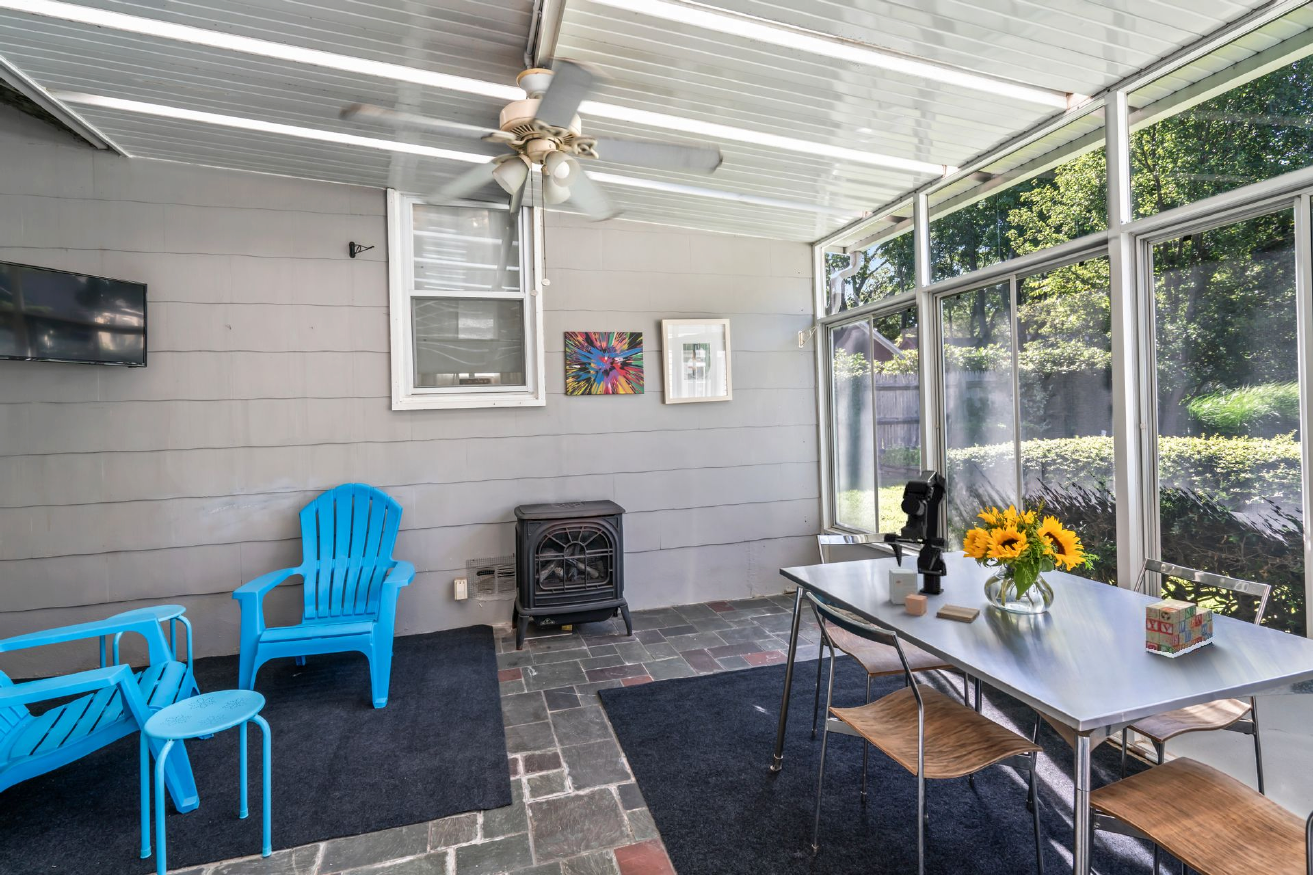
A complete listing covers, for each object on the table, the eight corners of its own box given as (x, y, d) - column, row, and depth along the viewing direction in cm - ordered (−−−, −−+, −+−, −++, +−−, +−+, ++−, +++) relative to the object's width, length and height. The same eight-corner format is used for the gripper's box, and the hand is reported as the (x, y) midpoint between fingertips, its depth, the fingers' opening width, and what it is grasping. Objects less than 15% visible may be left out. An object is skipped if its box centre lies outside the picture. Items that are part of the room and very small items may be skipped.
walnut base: (945, 610, 209) (945, 604, 209) (979, 616, 203) (979, 609, 203) (936, 618, 201) (936, 612, 201) (971, 624, 195) (971, 617, 195)
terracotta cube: (910, 609, 210) (910, 593, 210) (926, 611, 207) (926, 596, 206) (905, 613, 206) (905, 597, 206) (921, 615, 203) (921, 600, 203)
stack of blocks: (1185, 636, 180) (1185, 592, 180) (1213, 643, 175) (1213, 598, 174) (1145, 651, 170) (1145, 605, 169) (1173, 659, 164) (1173, 611, 164)
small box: (913, 599, 220) (912, 568, 220) (918, 604, 214) (918, 572, 214) (888, 599, 221) (888, 568, 220) (893, 604, 215) (892, 572, 215)
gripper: (879, 514, 209) (875, 562, 206) (940, 517, 197) (937, 569, 194) (891, 518, 217) (888, 565, 214) (950, 522, 206) (948, 572, 203)
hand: (914, 568), depth 206 cm, fingers open, 9 cm apart
